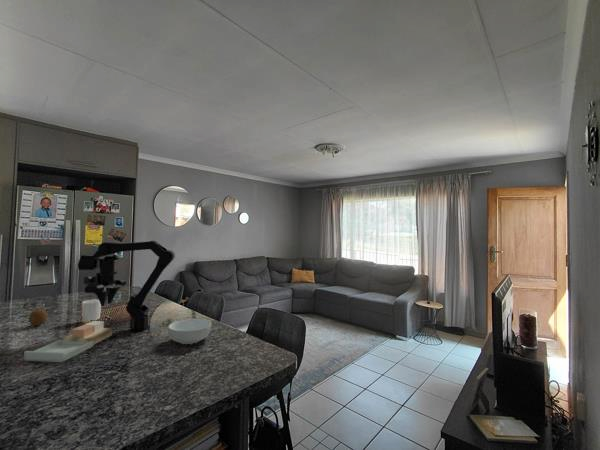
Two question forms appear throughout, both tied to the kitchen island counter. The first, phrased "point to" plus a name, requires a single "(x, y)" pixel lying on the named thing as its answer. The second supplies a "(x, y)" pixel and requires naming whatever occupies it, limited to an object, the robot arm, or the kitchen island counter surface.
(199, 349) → the kitchen island counter surface
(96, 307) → the white cup
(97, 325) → the cream tile
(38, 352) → the tray
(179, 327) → the cereal bowl
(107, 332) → the beech board
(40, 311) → the fruit
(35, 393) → the kitchen island counter surface
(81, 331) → the terracotta tile
